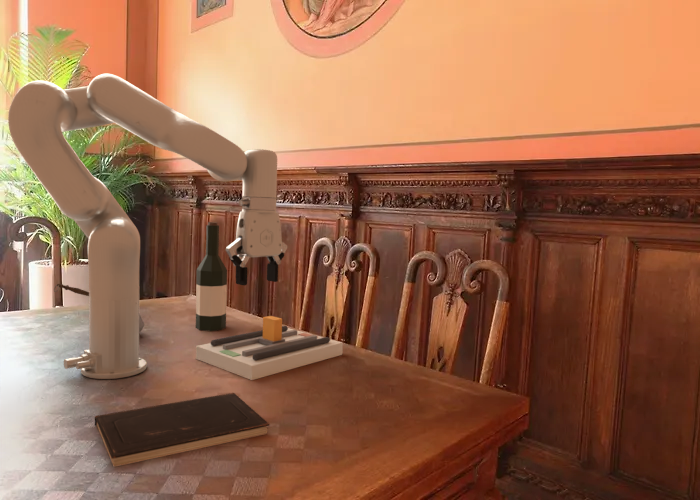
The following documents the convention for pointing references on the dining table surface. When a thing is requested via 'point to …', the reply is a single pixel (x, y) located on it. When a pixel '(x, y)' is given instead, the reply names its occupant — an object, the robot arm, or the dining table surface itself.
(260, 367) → the slider track board
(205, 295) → the wine bottle
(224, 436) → the hardcover book
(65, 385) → the dining table surface
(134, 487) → the dining table surface
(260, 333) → the dressed cords
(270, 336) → the handle
